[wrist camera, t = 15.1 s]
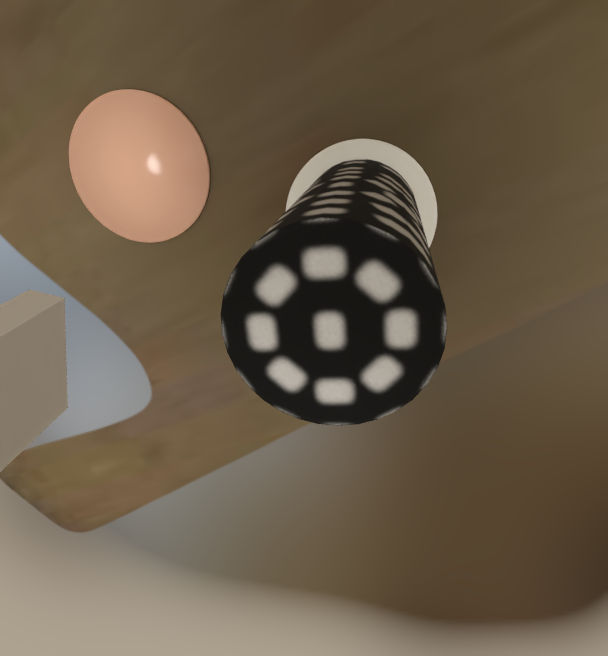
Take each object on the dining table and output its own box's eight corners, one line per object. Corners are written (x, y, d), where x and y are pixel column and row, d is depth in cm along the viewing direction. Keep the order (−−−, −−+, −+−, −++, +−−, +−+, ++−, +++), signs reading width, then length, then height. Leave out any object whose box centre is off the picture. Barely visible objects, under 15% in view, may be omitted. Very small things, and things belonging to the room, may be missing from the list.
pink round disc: (70, 75, 36) (67, 74, 35) (218, 106, 35) (216, 106, 35) (72, 224, 40) (70, 225, 40) (202, 254, 40) (201, 256, 39)
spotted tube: (417, 270, 37) (445, 426, 19) (308, 275, 39) (238, 424, 21) (417, 153, 34) (449, 209, 16) (297, 163, 35) (203, 225, 17)
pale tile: (300, 123, 35) (300, 123, 34) (457, 156, 34) (457, 157, 34) (275, 271, 39) (274, 272, 39) (412, 302, 39) (413, 304, 38)
